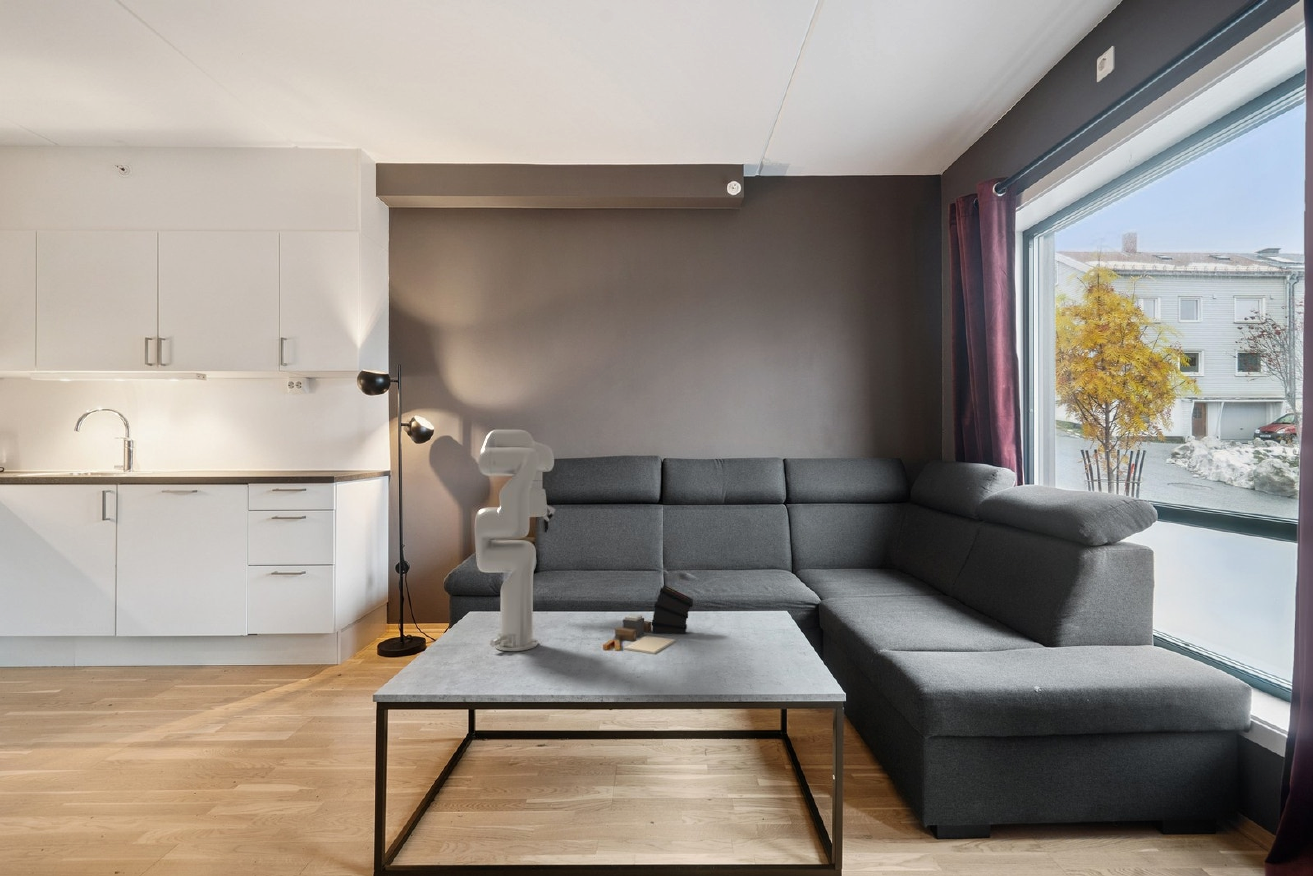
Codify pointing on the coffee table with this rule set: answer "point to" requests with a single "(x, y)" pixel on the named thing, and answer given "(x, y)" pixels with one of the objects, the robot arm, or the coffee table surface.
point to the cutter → (612, 643)
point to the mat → (649, 644)
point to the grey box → (634, 624)
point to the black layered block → (671, 612)
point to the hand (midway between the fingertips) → (531, 532)
